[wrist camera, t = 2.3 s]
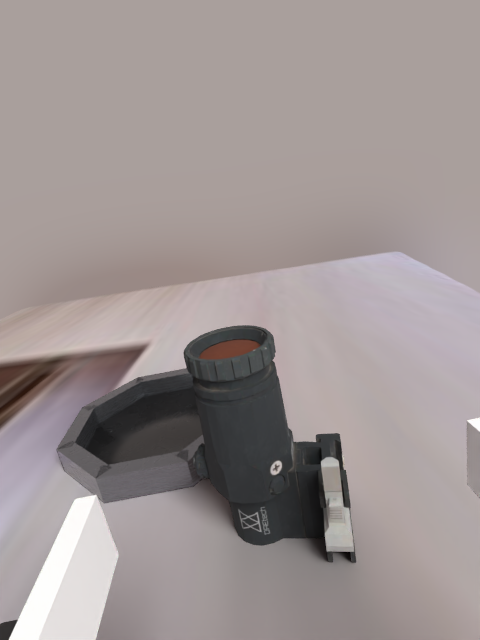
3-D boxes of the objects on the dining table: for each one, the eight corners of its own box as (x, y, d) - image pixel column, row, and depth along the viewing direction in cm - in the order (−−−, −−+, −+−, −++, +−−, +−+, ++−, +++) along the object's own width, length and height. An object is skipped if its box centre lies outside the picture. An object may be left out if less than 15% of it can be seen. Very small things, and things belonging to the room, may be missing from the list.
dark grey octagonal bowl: (40, 515, 31) (30, 491, 31) (101, 402, 48) (96, 385, 48) (256, 474, 32) (251, 449, 31) (241, 376, 49) (238, 358, 48)
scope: (338, 364, 18) (139, 381, 20) (359, 580, 22) (194, 574, 24) (328, 308, 25) (185, 325, 27) (345, 477, 30) (221, 480, 32)
